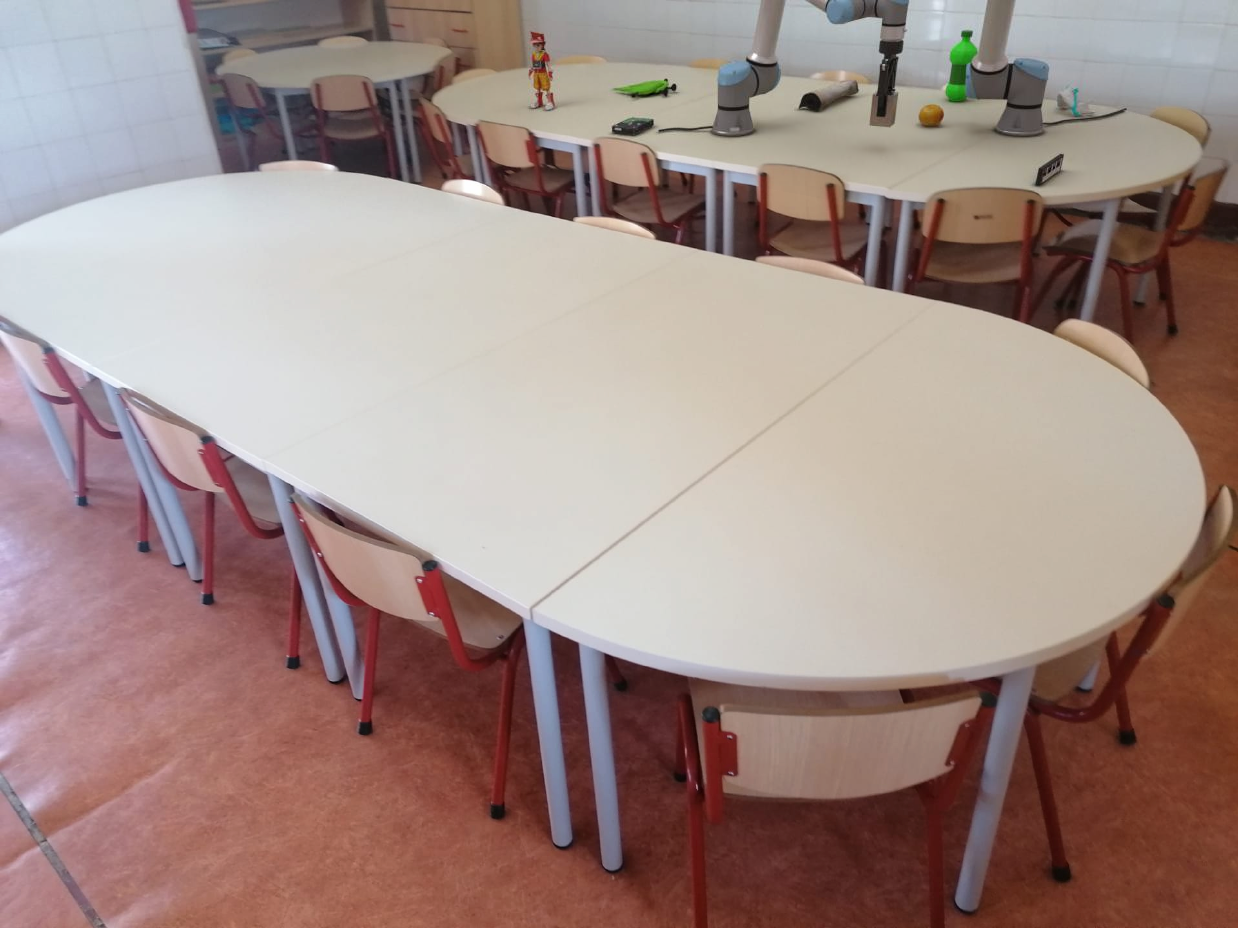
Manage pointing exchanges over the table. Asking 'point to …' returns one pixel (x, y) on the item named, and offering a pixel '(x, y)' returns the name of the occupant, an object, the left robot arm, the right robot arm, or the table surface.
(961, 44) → the plastic bottle
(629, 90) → the toy
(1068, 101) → the anatomical model
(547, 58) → the toy
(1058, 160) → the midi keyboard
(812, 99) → the rolled mat
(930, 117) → the fruit
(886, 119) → the brick
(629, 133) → the disk drive
